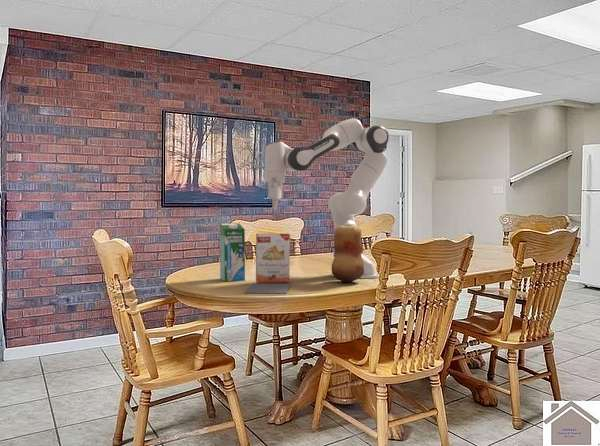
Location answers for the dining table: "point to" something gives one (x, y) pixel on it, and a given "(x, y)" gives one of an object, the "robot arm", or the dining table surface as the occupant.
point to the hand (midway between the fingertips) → (275, 209)
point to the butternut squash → (347, 253)
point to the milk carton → (232, 252)
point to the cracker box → (272, 258)
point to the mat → (268, 288)
